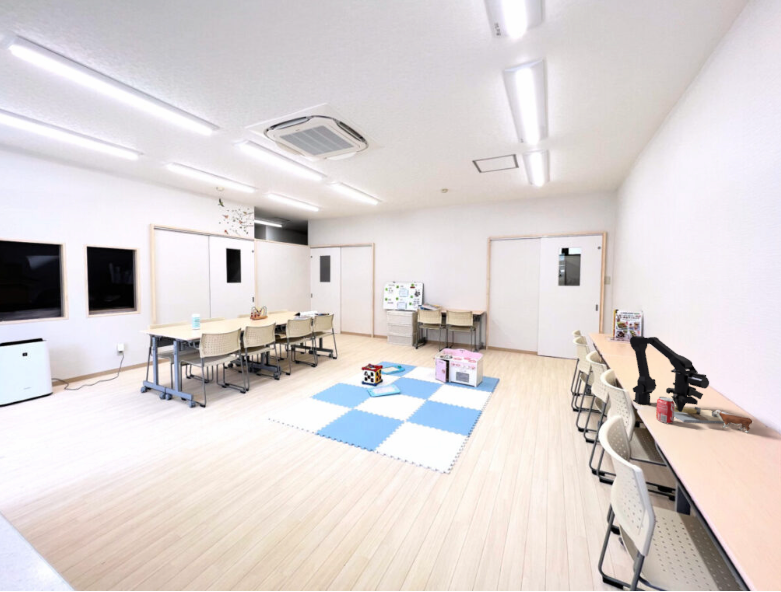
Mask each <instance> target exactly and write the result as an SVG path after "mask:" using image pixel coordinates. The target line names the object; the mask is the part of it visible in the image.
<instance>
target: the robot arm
mask: <svg viewBox="0 0 781 592" xmlns="http://www.w3.org/2000/svg"><path fill="white" fill-rule="evenodd" d="M629 344H630V347H631V349H633V351H634V354H635V359H636V365H637V370H638V374H639V376H638V378H637V381H636V383H637V385H635V386H634V387H632V392H633V393H634V399H632V401H633V402H635V403H636V404H639V405H640V406H641V405H647V406H648V405H649V406H651V405H652V403H651V394H652V393H654V391H655V390H657V389H656V387H657V384H656V379H654V378H652V377H651V376H650V370H649V369H650V368H649V363H648V360H647V359H648V358H647V353H646V350H647V348H648V345H651V346H652V347H653V348H654V349H655V350H657V351H658V352H659V353H661V355H662V356H664V357H665V358H667V359H668V361H669V363H670V365H671V366H673V369H671V370H670V372H671V373H674V374H675V375H674V382H672V385H673V386H674V387H668V388H666V390H665V392H666V393H667V394H668V395H669V394H672V395H671V397H670V398H671V399H673V402H674V403H675V407H677V409H678V411H679V412H682V410H683V408H684V407H685V406H686V405H687V404H690V405H695V406H696V405H698V400H697V399H699V400H701V399H702V397H703V395H704V393H702V392H700V391H698V390H697V388H700V389H707V388H708V387H709V386H710V380H709V377H707V374H704V373H703V374H701V373H698V370H697V369H696V368H695V366H694V365H693V362H692V360H690V359H689V358H687V357H685V356H683V355H680V354H678V353H676V352H675V351H674V350H673V349H671V348H670V347H669V346H667V345H666V344H665V343H664V342H663V341H661V340H660V339H659V337H657V336H649V337H645V336H643V335H642V336H641V335H638V336H636V335H633V336H632V337H630V338H629ZM696 387H697V388H696Z"/></svg>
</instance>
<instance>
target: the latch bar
mask: <svg viewBox="0 0 781 592" xmlns="http://www.w3.org/2000/svg"><path fill="white" fill-rule="evenodd" d="M701 410H702V409H701V407H698V406H694V407H685V406H684V408H683V410H682V412H683V413H694V414H700V412H701ZM674 412H679V411H678V409H677V407H676V406H675V411H674Z"/></svg>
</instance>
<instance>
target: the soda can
mask: <svg viewBox="0 0 781 592" xmlns="http://www.w3.org/2000/svg"><path fill="white" fill-rule="evenodd" d="M675 407H676V404H675V402H674V400H673V398H672V397H667V396H659V397H658V399H657V401H656V409H655V410H656V411H655V412H656V413H655V418H656V420H658V421H659V422H660V423H663V424H667V423H668V424H669V423H670V424H672V423H674V420H675V417H674V411H675Z"/></svg>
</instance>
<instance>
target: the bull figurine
mask: <svg viewBox="0 0 781 592" xmlns="http://www.w3.org/2000/svg"><path fill="white" fill-rule="evenodd" d="M714 411H715V412H713V414H716V415H717V416H718V417H719V418H720V420H721V421H722V422H724V423H723V426H721V429H725V428H729V426H730V425H729V424H728V423H731V424H732V425H735V426H736V427H738V426H739V425H741V426H740V427H738V428H737V430H738V431H743V429H745V430H744V433H745V434H749V433H750V429H751V428H750V425H752V424H753V419H751V418H750V417H745V416H740V415H734V414H732V413H728V412H726V411H723V410H720V409H716V410H714Z"/></svg>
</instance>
